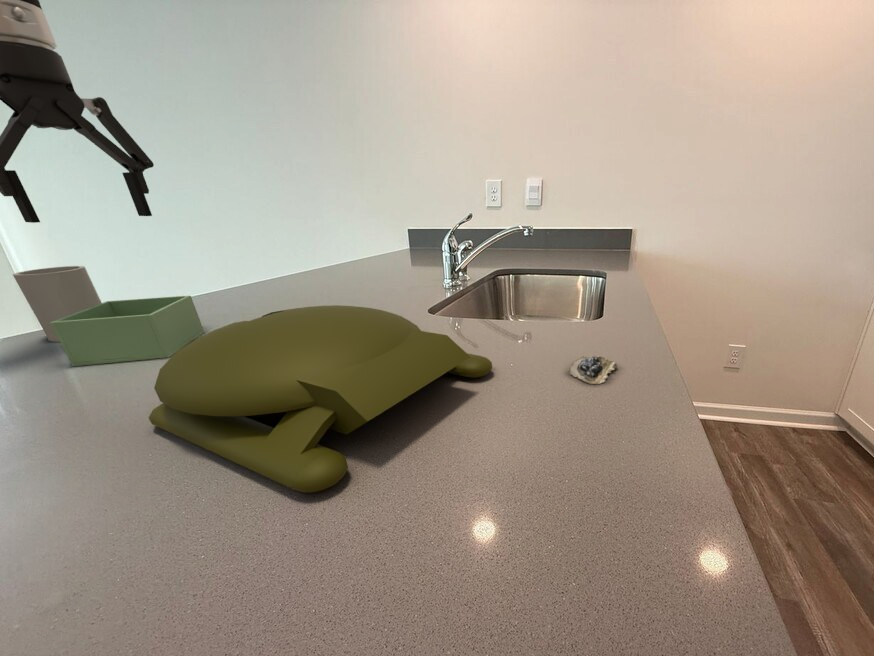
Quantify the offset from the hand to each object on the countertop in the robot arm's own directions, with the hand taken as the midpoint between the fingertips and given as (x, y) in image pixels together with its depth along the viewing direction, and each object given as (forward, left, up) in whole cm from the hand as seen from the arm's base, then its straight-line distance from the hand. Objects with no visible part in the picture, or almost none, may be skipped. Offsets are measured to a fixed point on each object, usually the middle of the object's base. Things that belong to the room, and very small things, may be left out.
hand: (94, 219), depth 63 cm
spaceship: (+34, -29, -21) cm, 50 cm away
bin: (0, -2, -21) cm, 21 cm away
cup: (-17, +11, -21) cm, 29 cm away
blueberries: (+70, -33, -21) cm, 81 cm away
